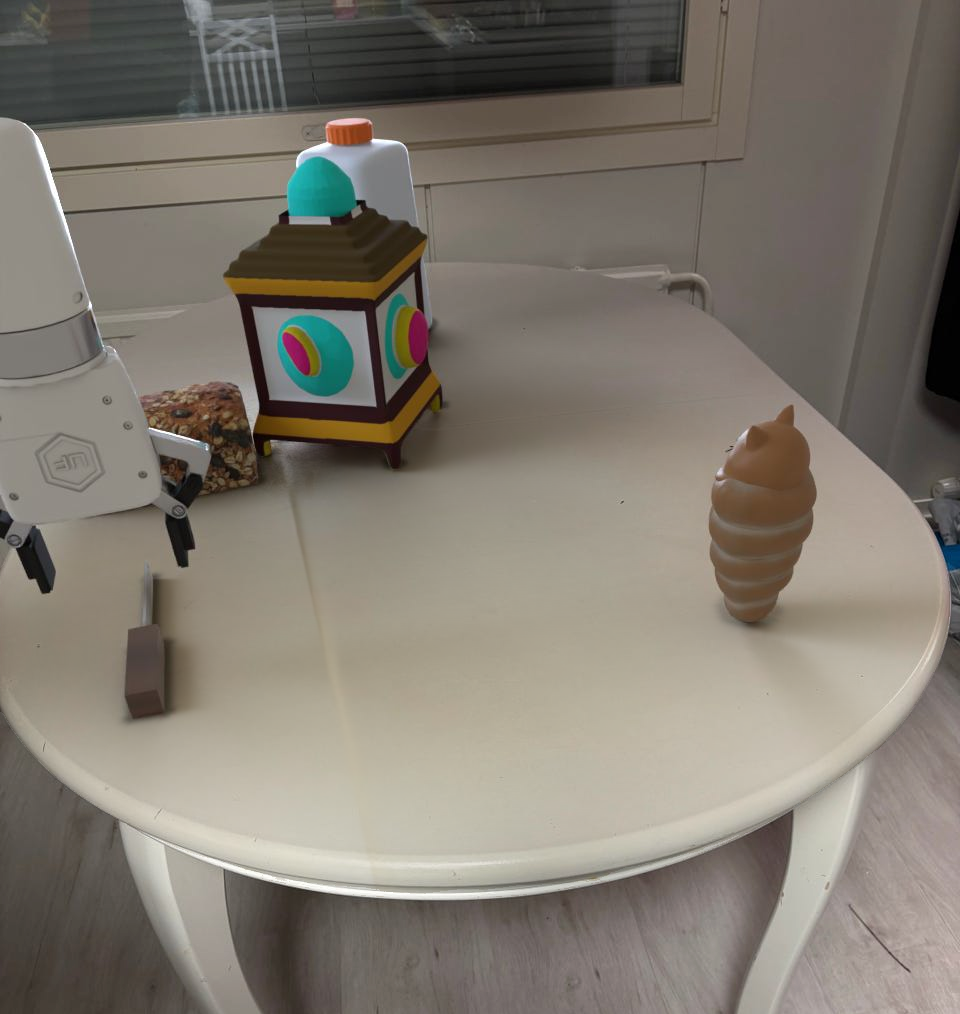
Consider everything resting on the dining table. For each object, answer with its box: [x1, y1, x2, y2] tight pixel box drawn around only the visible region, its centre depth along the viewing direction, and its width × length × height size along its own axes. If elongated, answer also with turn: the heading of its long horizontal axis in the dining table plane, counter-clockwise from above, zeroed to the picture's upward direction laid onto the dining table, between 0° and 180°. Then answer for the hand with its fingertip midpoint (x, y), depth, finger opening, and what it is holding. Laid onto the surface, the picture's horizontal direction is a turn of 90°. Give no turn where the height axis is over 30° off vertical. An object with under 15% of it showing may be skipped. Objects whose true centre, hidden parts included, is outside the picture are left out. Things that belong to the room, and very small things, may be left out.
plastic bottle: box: [295, 117, 433, 330], centre depth 132 cm, size 15×15×28 cm
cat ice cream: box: [708, 404, 818, 623], centre depth 75 cm, size 9×8×18 cm
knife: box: [123, 561, 166, 720], centre depth 81 cm, size 20×2×3 cm, turn 15°
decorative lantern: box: [222, 156, 444, 471], centre depth 105 cm, size 20×20×30 cm
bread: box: [138, 380, 260, 506], centre depth 102 cm, size 19×11×10 cm, turn 107°
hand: (117, 570), depth 71 cm, fingers open, 9 cm apart
